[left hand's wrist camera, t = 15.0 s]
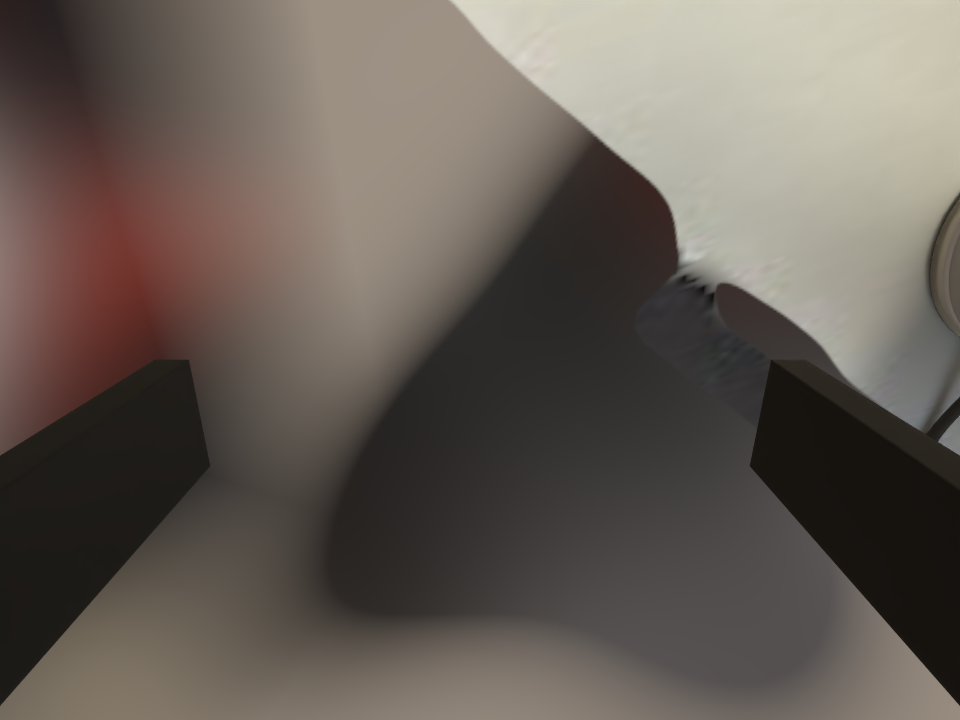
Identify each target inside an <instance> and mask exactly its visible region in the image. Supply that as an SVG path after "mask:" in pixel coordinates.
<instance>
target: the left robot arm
mask: <svg viewBox="0 0 960 720" xmlns="http://www.w3.org/2000/svg"><path fill="white" fill-rule="evenodd" d="M930 285H931V293H932V297H933V301H934V304H935V307H936V309H937V311H938V313H939V315H940V317H941V318H942V320H943V321H944V323H945V324H946V325H947V326H948V327H949V328H950V329H951V330H952V331H953V332H954V333H955V334H956V335H958V336H959V337H960V198H959V200H958V201H957V202H956V204H955V205H954V207H953V208H952V210H951V212H950V213H949V215H948V217H947V218H946V220H945V222H944V224H943V226H942V228H941V231H940V233H939V236H938V238H937V241H936V244H935V247H934V251H933V255H932V260H931V268H930ZM959 416H960V397H959V398H958V399H957V400H956V401H955V402H954V403H953V404H952V405H951V406H950V407H949V408H948V409H947V411H946V412H945V413H944V414H943V415H942V416H941V417H940V418H939V419H938V420H937V422H936V423H935V424H934V425H933V427H932V428H931V429H930V431H929V432H928V433H927V435H926V434H924V433H922V432H921V431H919V430H917V429H916V428H914V427H913V426H911V425H909V424H908V423H906V422H905V421H903V420H901V419H900V418H898V417H897V416H895V415H893V414H892V413H890V412H888V411H887V410H885V409H884V408H882V407H880V406H879V405H877V404H876V403H874V402H872V401H871V400H869V399H868V398H866V397H864V396H863V395H861V394H859V393H858V392H856V391H855V390H853V389H851V388H850V387H848V386H846V385H845V384H843V383H842V382H840V381H838V380H837V379H835V378H834V377H832V376H830V375H829V374H827V373H826V372H824V371H822V370H821V369H819V368H818V367H816V366H814V365H813V364H811V363H809V362H808V361H806V360H771V364H770V369H769V373H768V378H767V383H766V388H765V393H764V398H763V403H762V408H761V413H760V418H759V423H758V428H757V433H756V438H755V443H754V448H753V453H752V458H751V463H750V467H751V468H752V469H753V470H754V471H755V473H756V474H757V475H758V476H759V477H760V478H761V479H762V481H763V482H764V483H765V484H766V485H767V486H768V487H769V489H770V490H771V491H772V492H773V493H774V494H775V495H776V496H777V498H778V499H779V500H780V501H781V502H782V503H783V504H784V506H785V507H786V508H787V509H788V510H789V511H790V512H791V514H792V515H793V516H794V517H795V518H796V519H797V520H798V522H799V523H800V524H801V525H802V526H803V527H804V528H805V530H806V531H807V532H808V533H809V534H810V535H811V536H812V538H813V539H814V540H815V541H816V542H817V543H818V544H819V546H820V547H821V548H822V549H823V550H824V551H825V552H826V554H827V555H828V556H829V557H830V558H831V559H832V560H833V561H834V563H835V564H836V565H837V566H838V567H839V568H840V569H841V571H842V572H843V573H844V574H845V575H846V576H847V577H848V579H849V580H850V581H851V582H852V583H853V584H854V586H855V587H856V588H857V589H858V590H859V591H860V592H861V593H862V595H863V596H864V597H865V598H866V599H867V600H868V601H869V603H870V604H871V605H872V606H873V607H874V608H875V609H876V611H877V612H878V613H879V614H880V615H881V616H882V617H883V619H884V620H885V621H886V622H887V623H888V624H889V625H890V627H891V628H892V629H893V630H894V631H895V632H896V633H897V635H898V636H899V637H900V638H901V639H902V640H903V641H904V643H905V644H906V645H907V646H908V647H909V648H910V649H911V651H912V652H913V653H914V654H915V655H916V656H917V657H918V659H919V660H920V661H921V662H922V663H923V664H924V665H925V666H926V668H927V669H928V670H929V671H930V672H931V673H932V675H933V676H934V677H935V678H936V679H937V680H938V681H939V683H940V684H941V685H942V686H943V687H944V688H945V689H946V690H947V692H948V693H949V694H950V695H951V696H952V697H953V698H954V700H955V701H956V702H957V703H958V704H959V705H960V456H959V455H958V454H956V453H955V452H953V451H951V450H950V449H948V448H947V447H945V446H943V445H942V444H940V443H938V441H939V439H940V438H941V436H942V435H943V434H944V432H945V431H946V430H947V429H948V427H949V426H950V425H951V424H952V423H953V422H954V421H955V420H956V419H957V418H958V417H959ZM209 467H210V463H209V458H208V453H207V448H206V443H205V438H204V433H203V428H202V423H201V418H200V413H199V408H198V404H197V398H196V393H195V389H194V383H193V378H192V373H191V369H190V364H189V360H154V361H152V362H151V363H149V364H147V365H146V366H144V367H142V368H141V369H139V370H138V371H136V372H134V373H133V374H131V375H130V376H128V377H126V378H125V379H123V380H122V381H120V382H118V383H117V384H115V385H114V386H112V387H110V388H109V389H107V390H105V391H104V392H102V393H101V394H99V395H97V396H96V397H94V398H93V399H91V400H89V401H88V402H86V403H84V404H83V405H81V406H80V407H78V408H76V409H75V410H73V411H72V412H70V413H68V414H67V415H65V416H63V417H62V418H60V419H59V420H57V421H55V422H54V423H52V424H51V425H49V426H47V427H46V428H44V429H43V430H41V431H39V432H38V433H36V434H34V435H33V436H31V437H30V438H28V439H26V440H25V441H23V442H22V443H20V444H18V445H17V446H15V447H14V448H12V449H10V450H9V451H7V452H5V453H4V454H2V455H1V456H0V705H1V704H2V703H3V702H4V701H5V700H6V698H7V697H8V696H9V695H10V694H11V693H12V692H13V690H14V689H15V688H16V687H17V686H18V685H19V684H20V683H21V681H22V680H23V679H24V678H25V677H26V676H27V674H28V673H29V672H30V671H31V670H32V669H33V668H34V667H35V665H36V664H37V663H38V662H39V661H40V660H41V658H42V657H43V656H44V655H45V654H46V653H47V652H48V651H49V649H50V648H51V647H52V646H53V645H54V644H55V643H56V641H57V640H58V639H59V638H60V637H61V636H62V635H63V633H64V632H65V631H66V630H67V629H68V628H69V627H70V625H71V624H72V623H73V622H74V621H75V620H76V619H77V617H78V616H79V615H80V614H81V613H82V612H83V611H84V609H85V608H86V607H87V606H88V605H89V604H90V603H91V601H92V600H93V599H94V598H95V597H96V596H97V595H98V593H99V592H100V591H101V590H102V589H103V588H104V587H105V585H106V584H107V583H108V582H109V581H110V580H111V579H112V577H113V576H114V575H115V574H116V573H117V572H118V571H119V569H120V568H121V567H122V566H123V565H124V564H125V563H126V562H127V560H128V559H129V558H130V557H131V556H132V555H133V554H134V552H135V551H136V550H137V549H138V548H139V547H140V545H141V544H142V543H143V542H144V541H145V540H146V539H147V538H148V536H149V535H150V534H151V533H152V532H153V531H154V530H155V528H156V527H157V526H158V525H159V524H160V523H161V522H162V520H163V519H164V518H165V517H166V516H167V515H168V514H169V512H170V511H171V510H172V509H173V508H174V507H175V506H176V504H177V503H178V502H179V501H180V500H181V499H182V498H183V496H184V495H185V494H186V493H187V492H188V491H189V490H190V488H191V487H192V486H193V485H194V484H195V483H196V482H197V480H198V479H199V478H200V477H201V476H202V475H203V474H204V473H205V471H206V470H207V469H208V468H209Z"/></svg>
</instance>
